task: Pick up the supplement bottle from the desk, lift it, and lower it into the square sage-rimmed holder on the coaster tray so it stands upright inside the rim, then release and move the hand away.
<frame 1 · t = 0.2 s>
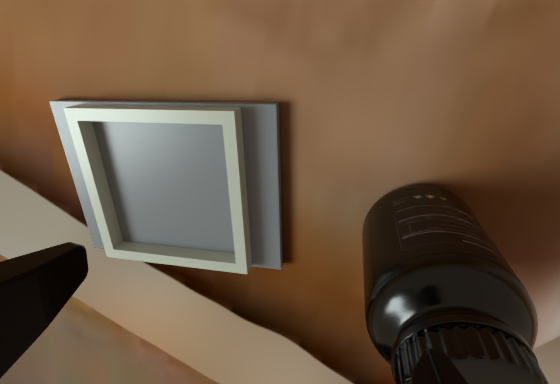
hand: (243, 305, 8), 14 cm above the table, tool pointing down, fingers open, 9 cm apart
supplement bottle: (415, 226, 22), on the table
coaster tray: (174, 184, 24), on the table
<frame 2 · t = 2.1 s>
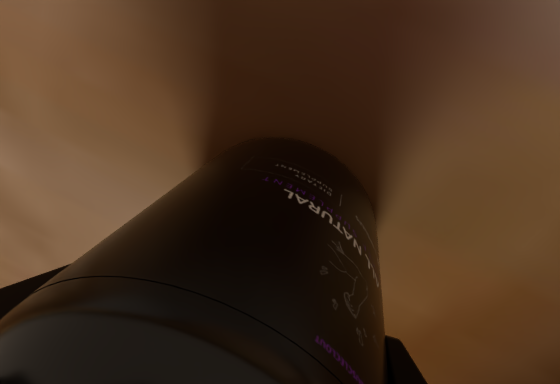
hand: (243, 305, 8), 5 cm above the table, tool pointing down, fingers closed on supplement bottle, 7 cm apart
supplement bottle: (282, 217, 13), on the table, touching gripper
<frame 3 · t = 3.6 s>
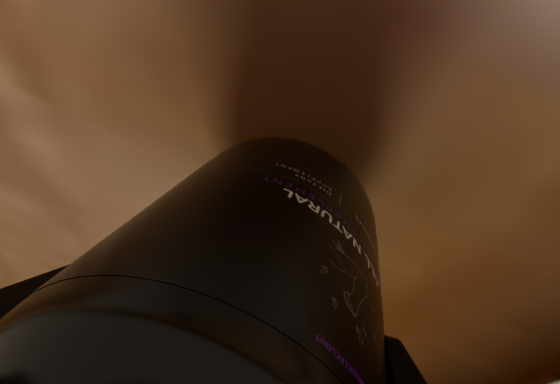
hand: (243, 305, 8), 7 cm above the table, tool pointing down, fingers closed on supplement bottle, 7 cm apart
supplement bottle: (281, 216, 13), point 2 cm above the table, touching gripper
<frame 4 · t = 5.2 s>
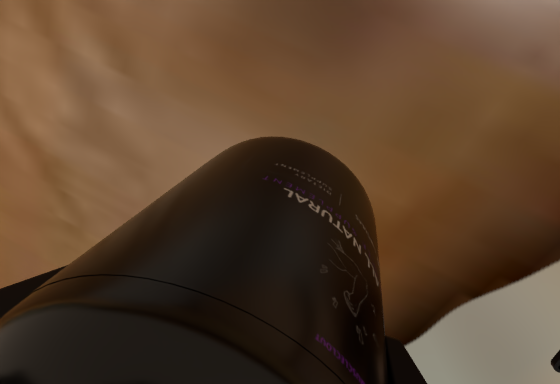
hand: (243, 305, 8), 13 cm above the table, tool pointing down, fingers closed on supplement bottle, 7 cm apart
supplement bottle: (281, 216, 13), point 8 cm above the table, touching gripper
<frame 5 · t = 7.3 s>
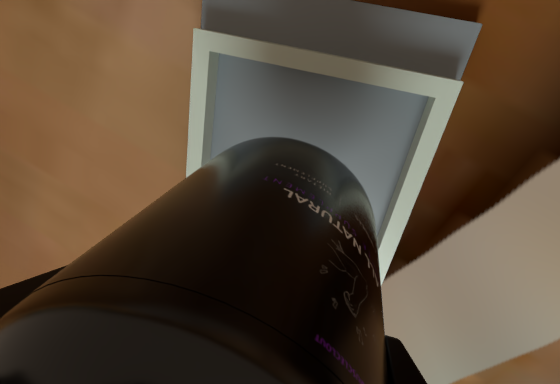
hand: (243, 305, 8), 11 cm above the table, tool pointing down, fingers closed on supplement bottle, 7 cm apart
supplement bottle: (281, 216, 13), point 6 cm above the table, touching gripper
coaster tray: (301, 164, 18), on the table
when the fingers open (7 cm above the table, at t = 8.7 s): supplement bottle drops 1 cm, resting on coaster tray.
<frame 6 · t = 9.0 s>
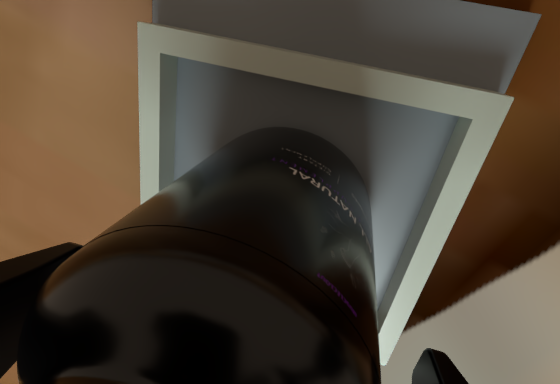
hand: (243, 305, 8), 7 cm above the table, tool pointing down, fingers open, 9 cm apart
supplement bottle: (284, 201, 14), point 1 cm above the table, touching coaster tray
coaster tray: (289, 197, 14), on the table
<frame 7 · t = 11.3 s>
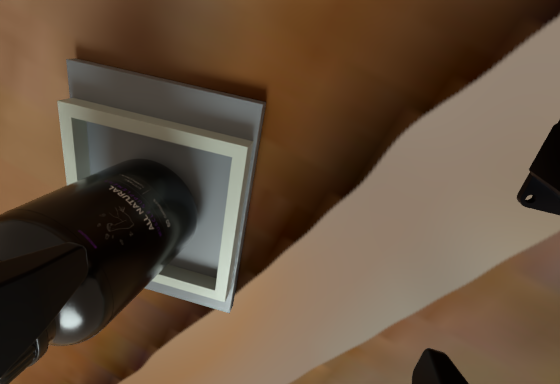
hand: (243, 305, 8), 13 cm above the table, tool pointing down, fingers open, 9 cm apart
supplement bottle: (156, 202, 22), point 1 cm above the table, touching coaster tray
coaster tray: (164, 197, 23), on the table
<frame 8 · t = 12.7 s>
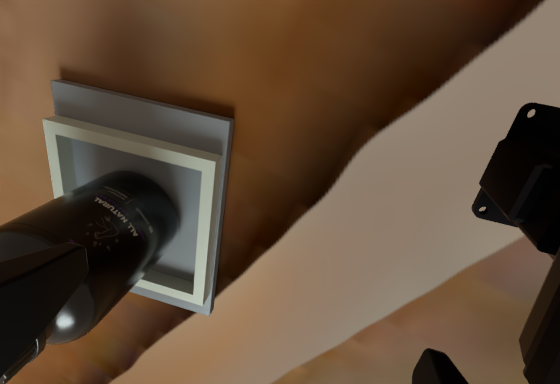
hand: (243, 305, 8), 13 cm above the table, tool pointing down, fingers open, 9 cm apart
supplement bottle: (139, 210, 24), point 1 cm above the table, touching coaster tray
coaster tray: (145, 207, 24), on the table
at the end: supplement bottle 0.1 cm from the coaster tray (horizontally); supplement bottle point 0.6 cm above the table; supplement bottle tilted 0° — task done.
